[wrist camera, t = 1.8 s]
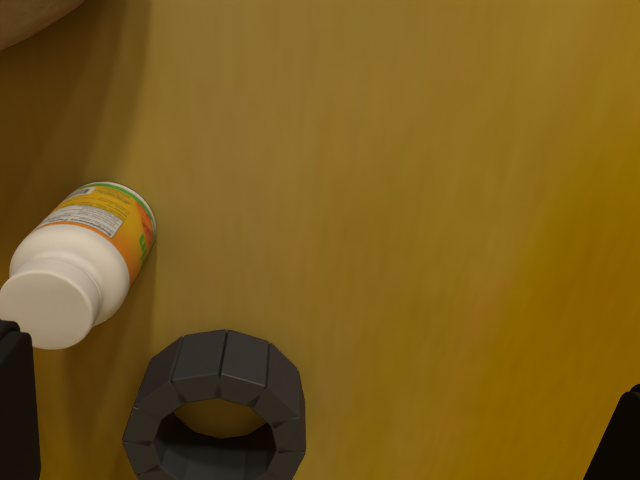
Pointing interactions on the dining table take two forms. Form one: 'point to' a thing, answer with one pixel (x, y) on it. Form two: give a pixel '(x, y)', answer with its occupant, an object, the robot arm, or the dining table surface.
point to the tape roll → (228, 384)
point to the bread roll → (30, 17)
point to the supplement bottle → (78, 264)
